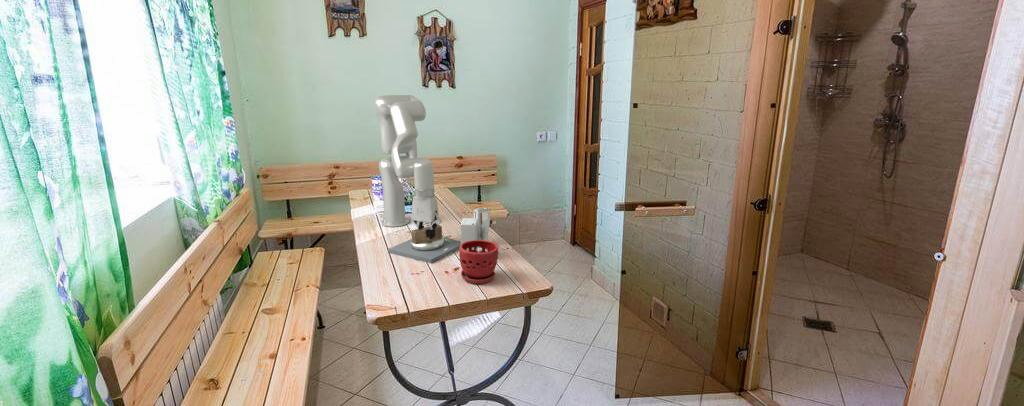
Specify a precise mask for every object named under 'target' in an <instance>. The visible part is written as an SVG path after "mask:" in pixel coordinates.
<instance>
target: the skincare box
mask: <svg viewBox="0 0 1024 406" xmlns="http://www.w3.org/2000/svg"><path fill="white" fill-rule="evenodd" d="M460 223H461V224H460V241H461V244H462V243H464V242H467V241H472V240H478V219H477V218H473V217H462V219H461V222H460ZM478 248H479V247H477V248H476V251H477V252H479V250H478ZM468 250H469V249H468V248H467V250H466V251H468ZM472 250H474V247H473V248H472ZM463 260H464V259H463Z"/></svg>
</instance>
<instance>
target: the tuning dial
mask: <svg viewBox="0 0 1024 406" xmlns="http://www.w3.org/2000/svg"><path fill="white" fill-rule="evenodd" d="M429 229H430V227H429V226H424V228H420V229H418V228H416V229H411V239H412V240H411V247H412V248H413V249H416V250H421V251H428V250H435V249H438V248H441V247H442V246H443V245H444V239H445V238H448V239H450V238H451V237H452V235H451V234H449V235H444V236H443V227H442V225H440V224H439V225H438V226H437V227H436V228H435V237H434V238H432V239H429Z"/></svg>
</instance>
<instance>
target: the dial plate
mask: <svg viewBox="0 0 1024 406" xmlns="http://www.w3.org/2000/svg"><path fill="white" fill-rule="evenodd" d="M411 240H412V238H411V239H409V240H406V241H404V242H401V243H399V244H396V245H394V246H392V247H389V248H387V253H388V254H392V255H395V256H396V255H397V256H400V257H404V258H409V259H413V260H417V261H420V262H424V263H428V264H433V263H435V262H437V261H439V260H440V259H443V258H445V257H447V256H448V255H450V254H451V255H452V254H453V253H455V252H457V251H459V249H460V245H461V240H457V239H452V238H445V239H444V245H443V246H442V247H441V248H438V249H435V250H428V251H421V250H416V249H413V248H412V247H411Z"/></svg>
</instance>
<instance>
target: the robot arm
mask: <svg viewBox="0 0 1024 406" xmlns="http://www.w3.org/2000/svg"><path fill="white" fill-rule="evenodd" d="M373 103H374V105H373V107H374V112H375V115H376V117H377V120H378V123H379V135H380V136H379V137H380V138H379V139H380V147H381V151H382V153H383V154H386V155H390V156H387V157H383V158H381V160H379V161H378V170H379V175H380V179H381V185H382V186H381V188H382V198H383V211H382V212H381V214H379V217H380V218H382V219H383V220H382V221H381V225H382V226H383V227H389V228H396V227H403V226H405V225H406V226H407V225H408V224H409V222H410V219H411V220H412V221H413V222H414V224H415V225H416V228H417V229H420V228H424V227H425V226H424V223H426V224H427V223H428V227H430V229H429V239H432V238H434V237H435V228H436V227H437V226H438V225H440V224H441V223H443V222H442V219H441V218H440V216H439V215H440V214H439V205H438V199H437V196H436V195H435V176H434V174H435V173H434V172H435V171H434V163H433V162H432V161H430V160H429V159H428V158H426V157H418V144H417V138H418V136H419V133H418V130H417V125H416V122H422V121H425V119H426V117H427V112H426V107H425V104H424V103H423V102H422V101H421V100H420V99H419V98H417V97H415V96H414V95H413V94H412V95H411V94H389V95H388V94H387V95H385V94H384V95H380V96H377V97H376V98H375V100H374V102H373ZM401 154H405V155H401ZM398 178H400V179H407V178H408V179H410V178H413V183H414V188H413V189H412V191H413V192H414V195H412V196H413V197H412V203H411V216H410V219H409V218H407V217H406V206H405V192H404V191H405V190H404V188H405V187H404V185H403V183H402V182H401V181H400V180H399V179H398Z"/></svg>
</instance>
